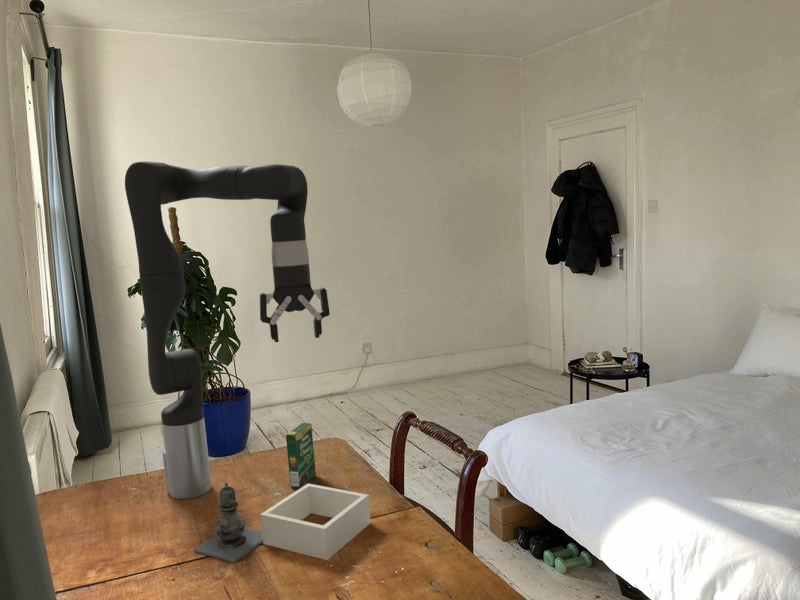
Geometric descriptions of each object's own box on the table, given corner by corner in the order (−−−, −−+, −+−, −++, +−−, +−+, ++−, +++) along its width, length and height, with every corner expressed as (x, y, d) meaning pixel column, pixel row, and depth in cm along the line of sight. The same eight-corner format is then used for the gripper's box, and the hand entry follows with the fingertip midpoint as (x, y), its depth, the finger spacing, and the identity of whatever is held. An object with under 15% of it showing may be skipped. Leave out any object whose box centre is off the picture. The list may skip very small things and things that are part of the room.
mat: (194, 551, 123) (193, 549, 122) (231, 527, 131) (231, 525, 131) (233, 562, 118) (233, 560, 118) (269, 537, 126) (269, 534, 126)
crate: (263, 543, 124) (260, 514, 123) (310, 510, 137) (307, 483, 136) (327, 560, 117) (324, 529, 116) (370, 523, 130) (368, 494, 129)
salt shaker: (239, 550, 121) (233, 489, 119) (210, 549, 122) (204, 489, 120) (252, 534, 127) (247, 476, 125) (224, 533, 128) (218, 475, 126)
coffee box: (300, 489, 148) (295, 434, 146) (289, 488, 149) (284, 433, 147) (317, 475, 155) (312, 422, 153) (306, 474, 156) (302, 422, 154)
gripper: (257, 266, 129) (264, 346, 131) (327, 261, 132) (333, 338, 135) (254, 264, 136) (261, 340, 138) (321, 259, 140) (327, 333, 142)
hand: (297, 339), depth 136 cm, fingers open, 8 cm apart
